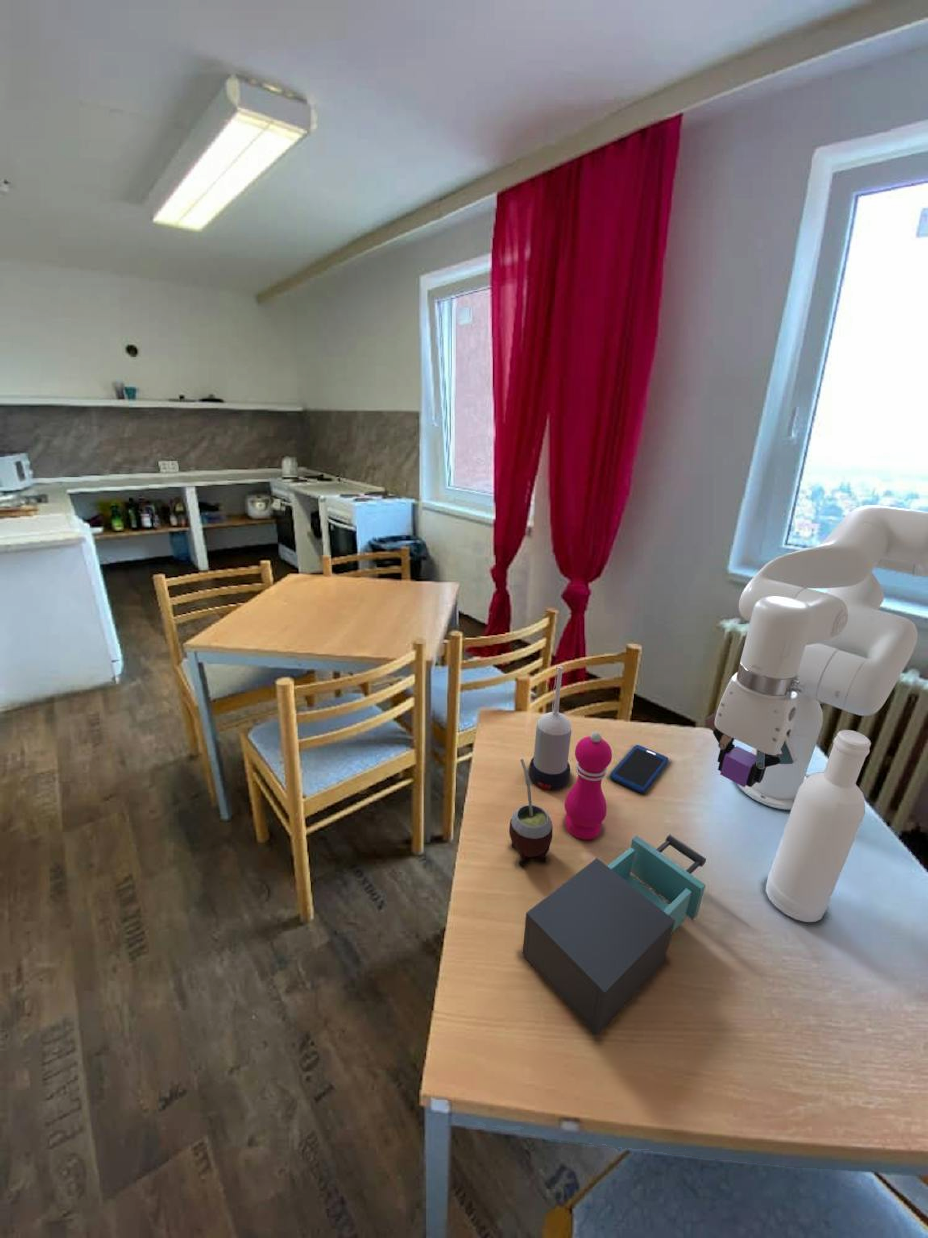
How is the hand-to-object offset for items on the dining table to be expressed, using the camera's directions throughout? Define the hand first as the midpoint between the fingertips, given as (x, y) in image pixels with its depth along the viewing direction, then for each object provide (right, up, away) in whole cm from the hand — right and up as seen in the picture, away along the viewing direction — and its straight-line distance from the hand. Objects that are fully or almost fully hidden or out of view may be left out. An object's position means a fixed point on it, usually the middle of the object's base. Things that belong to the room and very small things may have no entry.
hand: (738, 774), depth 85 cm
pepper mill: (-24, -12, +7) cm, 28 cm away
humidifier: (-28, -6, +19) cm, 35 cm away
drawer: (-18, -17, -8) cm, 26 cm away
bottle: (+5, -18, -6) cm, 19 cm away
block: (0, 0, 0) cm, 0 cm away
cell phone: (-9, -6, +22) cm, 24 cm away
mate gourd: (-35, -14, +2) cm, 37 cm away
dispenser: (-28, -21, -15) cm, 38 cm away
